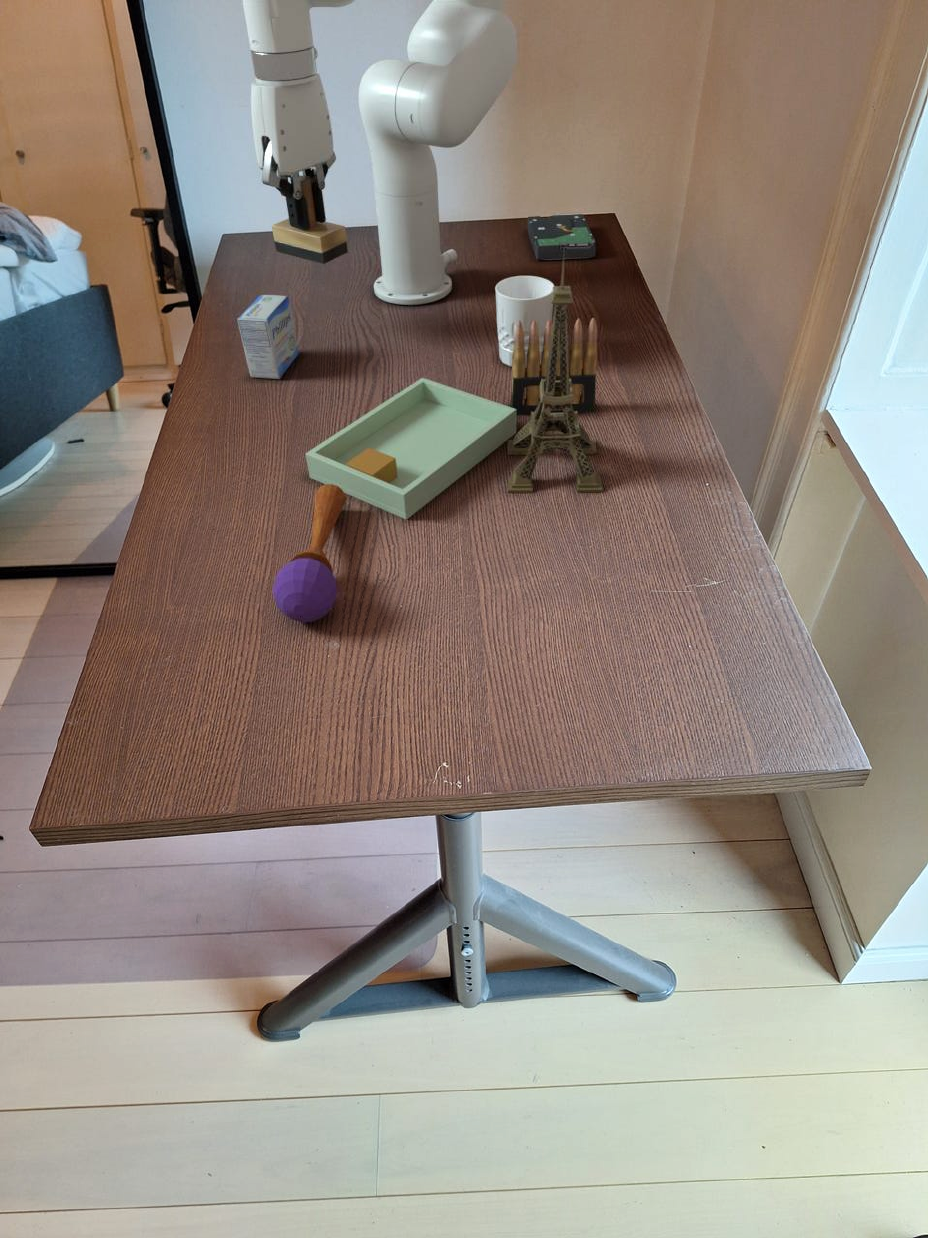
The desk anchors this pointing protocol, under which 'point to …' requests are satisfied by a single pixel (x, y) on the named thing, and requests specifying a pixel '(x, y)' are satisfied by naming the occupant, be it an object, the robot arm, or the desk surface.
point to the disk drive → (561, 237)
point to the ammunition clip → (576, 373)
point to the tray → (414, 445)
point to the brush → (310, 234)
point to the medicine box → (268, 336)
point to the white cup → (522, 311)
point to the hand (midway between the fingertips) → (308, 222)
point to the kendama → (311, 565)
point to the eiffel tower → (543, 421)
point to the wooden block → (375, 465)
